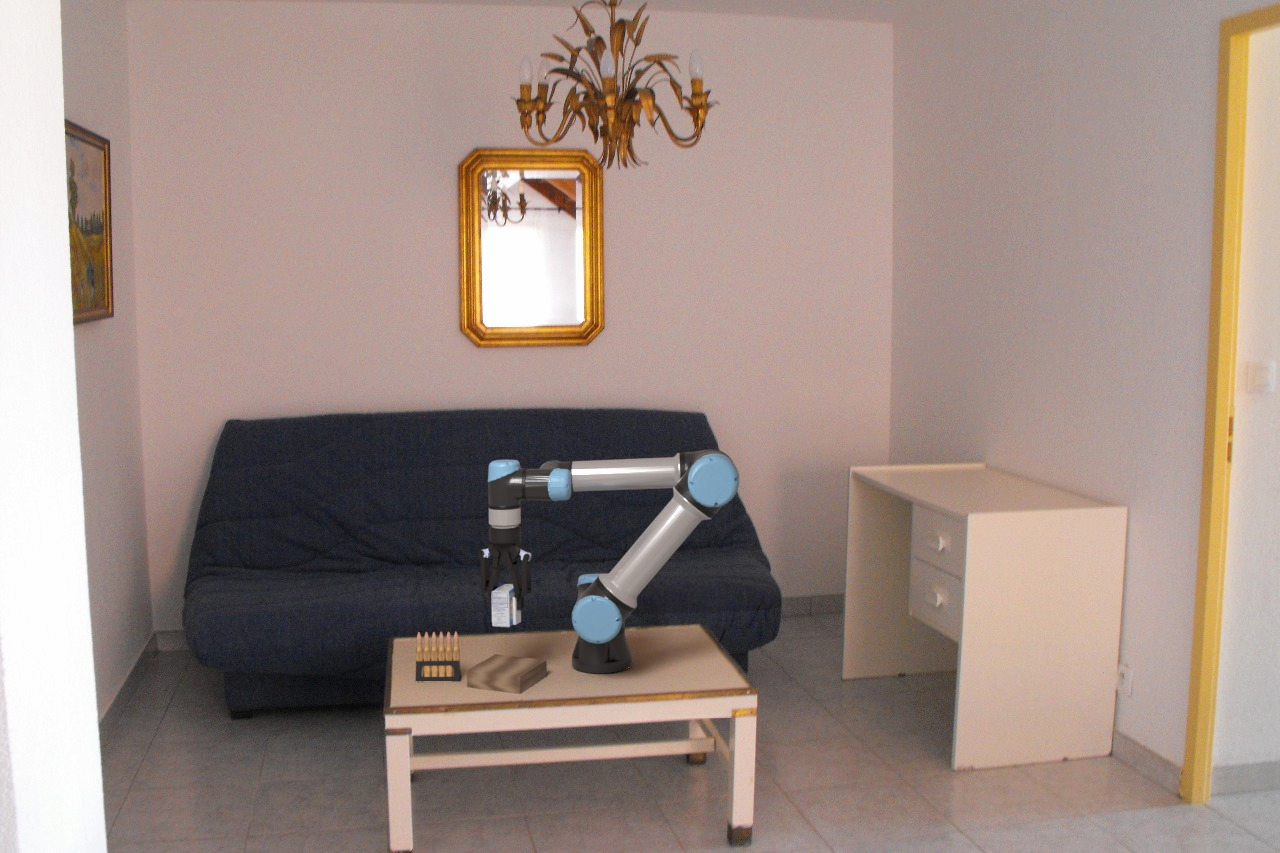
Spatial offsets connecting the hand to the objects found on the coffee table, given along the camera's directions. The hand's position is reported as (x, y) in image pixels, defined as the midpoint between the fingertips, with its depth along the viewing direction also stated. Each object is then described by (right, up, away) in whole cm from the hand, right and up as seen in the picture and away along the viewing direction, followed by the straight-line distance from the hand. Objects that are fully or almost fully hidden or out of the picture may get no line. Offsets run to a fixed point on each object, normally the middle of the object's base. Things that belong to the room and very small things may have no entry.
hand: (506, 621), depth 267 cm
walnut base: (0, -14, +1) cm, 15 cm away
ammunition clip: (-17, -15, +2) cm, 22 cm away
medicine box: (0, -1, 0) cm, 1 cm away
